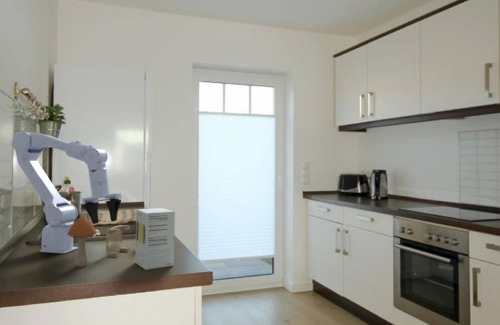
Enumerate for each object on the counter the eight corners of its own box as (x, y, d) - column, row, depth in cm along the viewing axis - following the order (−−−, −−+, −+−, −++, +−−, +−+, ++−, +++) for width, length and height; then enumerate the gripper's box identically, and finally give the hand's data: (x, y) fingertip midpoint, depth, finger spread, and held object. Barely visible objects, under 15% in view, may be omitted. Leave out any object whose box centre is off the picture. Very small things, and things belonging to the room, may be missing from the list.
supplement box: (134, 262, 119) (135, 209, 119) (162, 258, 124) (163, 207, 124) (145, 270, 111) (146, 212, 111) (174, 265, 116) (175, 210, 116)
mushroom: (77, 271, 108) (78, 219, 108) (61, 267, 112) (62, 216, 112) (101, 265, 115) (102, 216, 115) (85, 261, 119) (86, 213, 119)
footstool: (105, 256, 125) (106, 229, 125) (119, 250, 134) (119, 225, 134) (117, 257, 125) (117, 230, 125) (130, 251, 134) (130, 225, 134)
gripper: (124, 179, 132) (129, 217, 132) (89, 184, 137) (95, 222, 136) (111, 180, 126) (117, 221, 125) (75, 186, 130) (81, 225, 129)
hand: (104, 222), depth 130 cm, fingers open, 7 cm apart
